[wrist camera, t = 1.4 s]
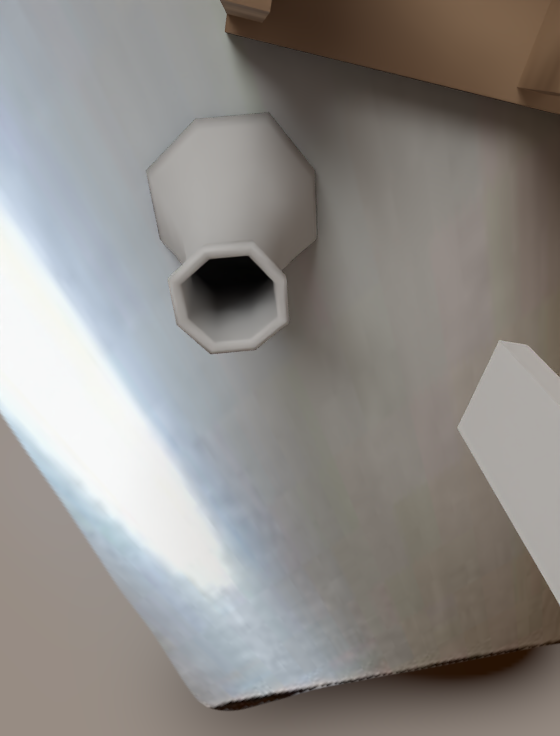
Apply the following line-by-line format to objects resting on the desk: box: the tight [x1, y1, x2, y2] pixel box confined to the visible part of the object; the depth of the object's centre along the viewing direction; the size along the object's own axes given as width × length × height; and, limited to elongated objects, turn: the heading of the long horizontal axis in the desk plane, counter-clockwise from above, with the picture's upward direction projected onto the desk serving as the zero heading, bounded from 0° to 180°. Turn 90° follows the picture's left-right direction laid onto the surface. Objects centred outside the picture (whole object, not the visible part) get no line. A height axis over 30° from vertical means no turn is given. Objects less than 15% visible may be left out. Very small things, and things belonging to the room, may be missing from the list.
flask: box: [146, 112, 317, 354], centre depth 18 cm, size 7×7×10 cm
